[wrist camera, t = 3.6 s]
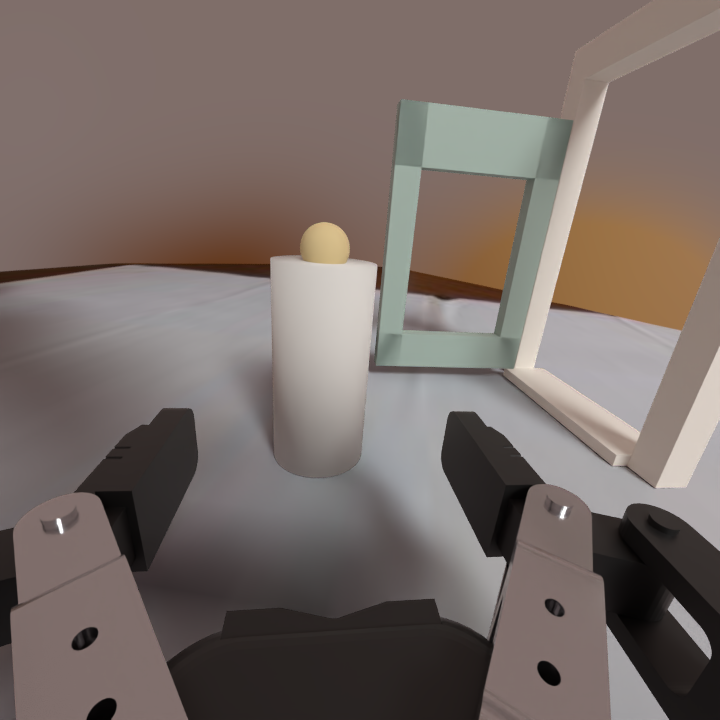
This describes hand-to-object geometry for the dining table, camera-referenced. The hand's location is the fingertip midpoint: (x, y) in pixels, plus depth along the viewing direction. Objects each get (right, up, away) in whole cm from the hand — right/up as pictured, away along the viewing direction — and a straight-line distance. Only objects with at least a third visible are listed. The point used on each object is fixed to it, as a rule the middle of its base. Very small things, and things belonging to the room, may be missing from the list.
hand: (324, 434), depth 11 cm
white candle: (-1, -3, +10) cm, 11 cm away
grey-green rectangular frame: (+9, +2, +22) cm, 24 cm away
